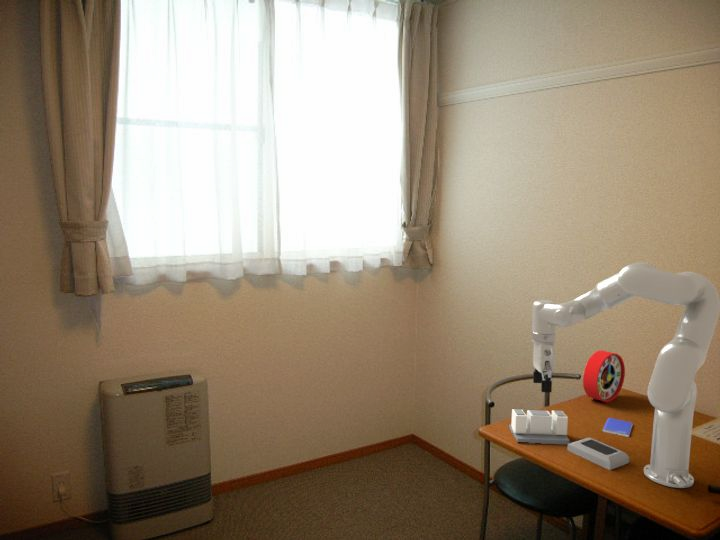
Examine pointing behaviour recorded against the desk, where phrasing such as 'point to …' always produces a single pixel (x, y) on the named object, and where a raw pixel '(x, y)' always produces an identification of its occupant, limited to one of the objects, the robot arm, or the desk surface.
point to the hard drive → (618, 427)
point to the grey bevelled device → (599, 453)
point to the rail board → (555, 437)
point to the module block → (539, 421)
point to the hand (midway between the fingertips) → (542, 387)
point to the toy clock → (604, 376)
